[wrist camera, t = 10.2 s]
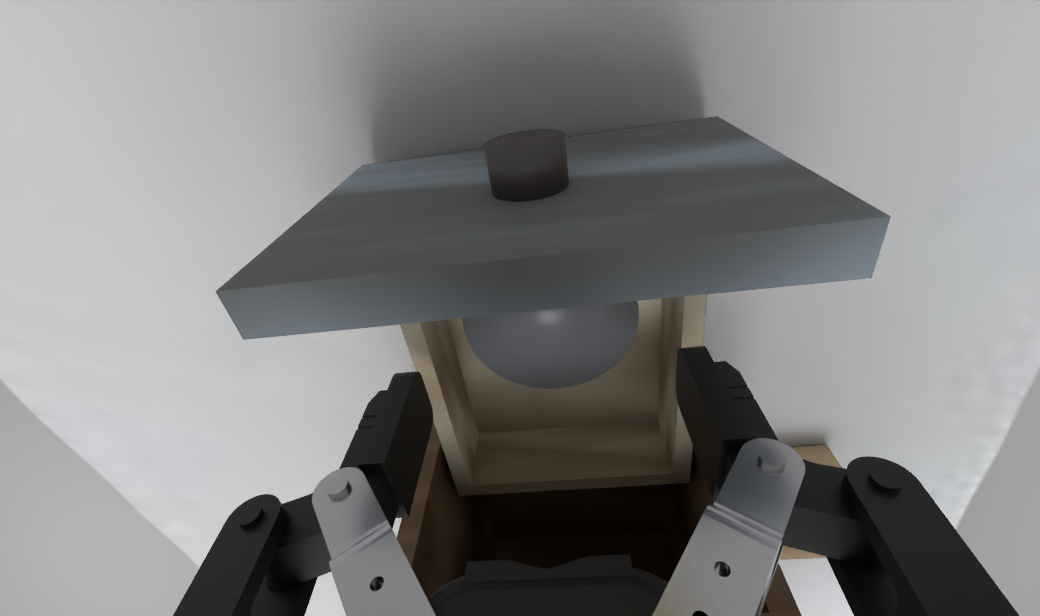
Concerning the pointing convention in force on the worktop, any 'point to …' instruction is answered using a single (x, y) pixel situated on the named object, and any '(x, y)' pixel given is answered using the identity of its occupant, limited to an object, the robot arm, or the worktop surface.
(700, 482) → the housing
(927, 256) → the worktop surface
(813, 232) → the drawer
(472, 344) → the disc
